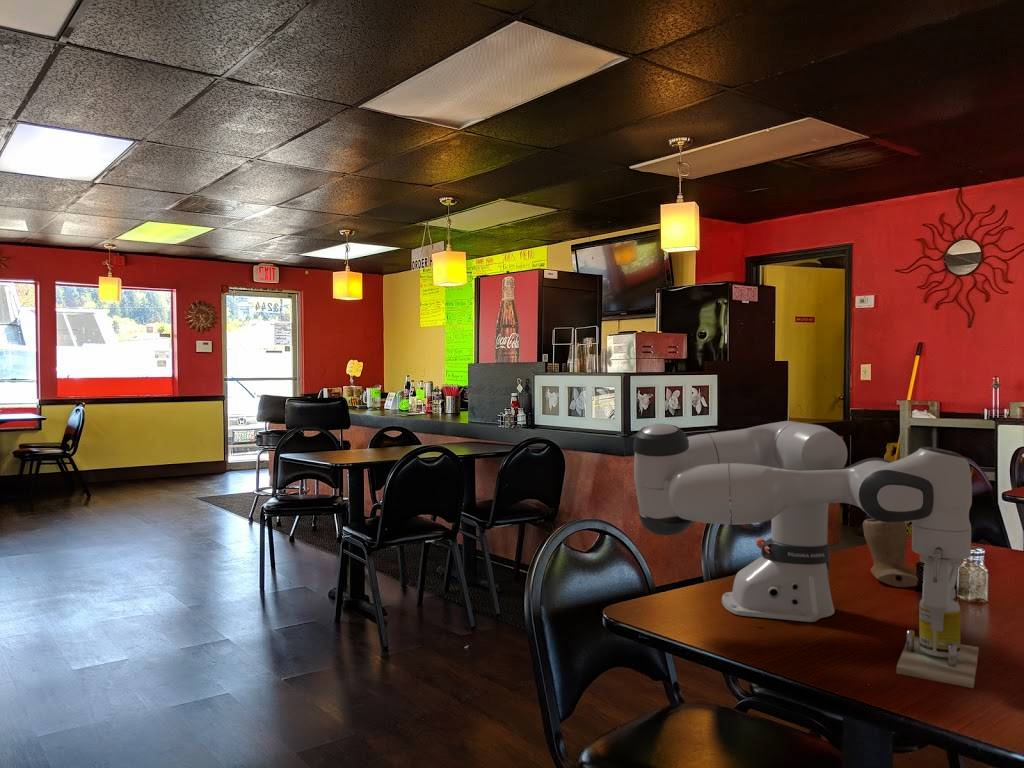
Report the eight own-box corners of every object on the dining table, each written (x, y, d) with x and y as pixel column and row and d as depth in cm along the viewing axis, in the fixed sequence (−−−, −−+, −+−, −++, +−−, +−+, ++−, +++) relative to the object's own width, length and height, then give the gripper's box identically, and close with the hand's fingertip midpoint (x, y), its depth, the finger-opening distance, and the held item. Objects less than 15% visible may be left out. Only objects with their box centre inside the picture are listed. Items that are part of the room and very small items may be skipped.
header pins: (956, 668, 129) (956, 646, 129) (903, 658, 133) (903, 637, 133) (959, 652, 136) (959, 632, 136) (909, 643, 141) (909, 623, 141)
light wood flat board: (973, 688, 124) (973, 680, 124) (896, 673, 130) (896, 665, 130) (978, 654, 139) (978, 646, 139) (909, 642, 145) (909, 635, 145)
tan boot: (859, 570, 197) (860, 511, 197) (912, 575, 193) (913, 514, 193) (866, 586, 182) (867, 522, 182) (923, 591, 179) (924, 525, 178)
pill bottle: (964, 651, 134) (964, 587, 134) (955, 661, 130) (955, 594, 130) (924, 643, 139) (925, 580, 138) (914, 652, 134) (915, 587, 134)
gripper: (958, 557, 123) (956, 645, 124) (965, 535, 141) (963, 612, 141) (913, 552, 127) (911, 637, 127) (925, 531, 144) (924, 606, 144)
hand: (939, 623), depth 134 cm, fingers closed on pill bottle, 6 cm apart
